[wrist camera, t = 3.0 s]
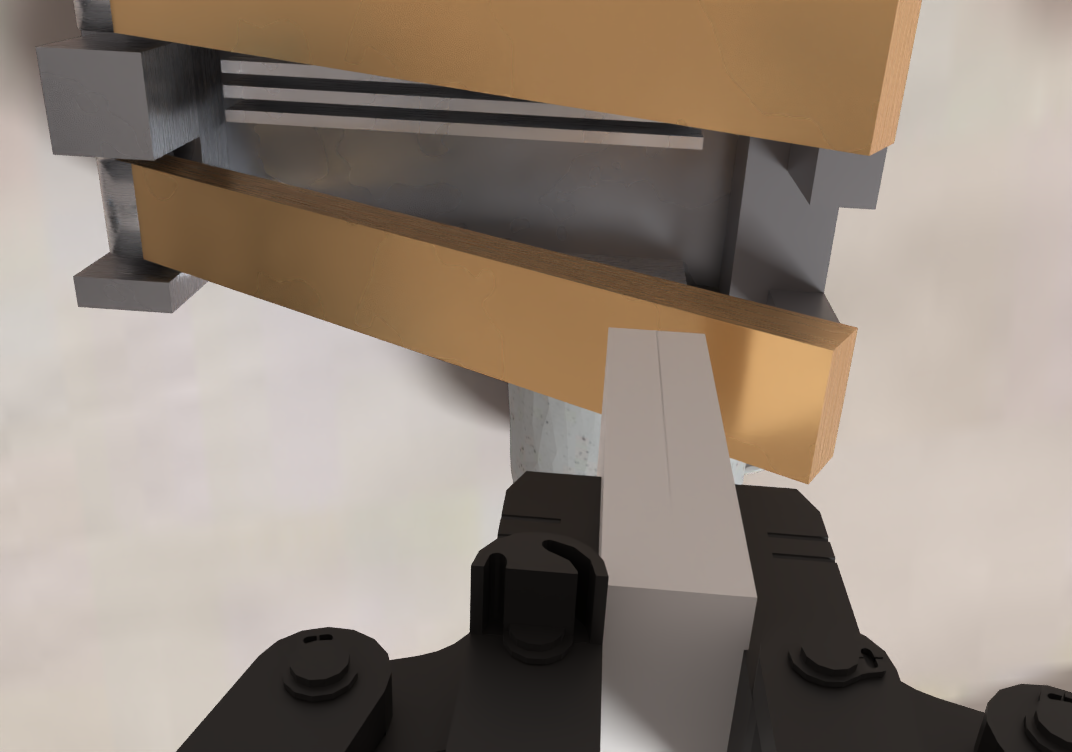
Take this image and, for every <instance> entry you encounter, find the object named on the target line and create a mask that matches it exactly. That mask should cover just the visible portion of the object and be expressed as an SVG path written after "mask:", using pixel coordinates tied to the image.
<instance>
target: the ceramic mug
mask: <svg viewBox="0 0 1072 752" xmlns="http://www.w3.org/2000/svg"><path fill="white" fill-rule="evenodd" d="M689 286H693V287H697V288H701V289H705V290H709V291H713V292H717V293H720V290H719V287H709V286H694V285H689ZM508 391H509V410H510V460H511V473H512V478H513V483H514V482H515V481H516V480H517V479H519V478H520V477H521V476H522V475H523V474H524V473H525V472H526V471H534V472H547V473H560V474H573V475H586V476H597V466H598V453H599V441H600V428H601V416H602V414H599V413H596V412H593V411H590V410H587V409H584V408H581V407H578V406H575V405H572V404H569V403H567V402H564V401H561V400H558V399H555V398H552V397H549V396H546V395H543V394H540V393H537V392H534V391H531V390H528V389H525V388H522V387H519V386H516V385H513V384H511V383H508ZM730 462H731V468H732V473H733V478H734V483H735V484H738V485H742V483H743V478H744V475H748V474H752V473H758V472H761V471H763V470H764V469H761V468H758V467H755V466H752V465H749V464H746V463H743V462H741V461H738V460H735V459H732V458H730Z"/></svg>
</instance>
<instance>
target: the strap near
mask: <svg viewBox="0 0 1072 752" xmlns="http://www.w3.org/2000/svg"><path fill="white" fill-rule="evenodd" d="M73 2H74V9H75V16H76V23H77V28H78V29H80V30H84V31H92V32H111V33H120V34H126V35H132V36H138V37H144V38H150V39H156V40H162V41H169V42H175V43H181V44H187V45H193V46H199V47H205V48H211V49H218V50H224V51H230V52H236V53H242V54H248V55H254V56H260V57H267V58H273V59H279V60H285V61H291V62H297V63H303V64H309V65H316V66H322V67H328V68H334V69H340V70H346V71H352V72H358V73H364V74H371V75H377V76H383V77H389V78H395V79H401V80H407V81H413V82H420V83H426V84H432V85H438V86H444V87H450V88H456V89H462V90H469V91H475V92H481V93H487V94H493V95H499V96H505V97H511V98H518V99H524V100H530V101H536V102H542V103H548V104H554V105H560V106H567V107H573V108H579V109H585V110H591V111H597V112H603V113H609V114H616V115H622V116H628V117H634V118H640V119H646V120H652V121H658V122H664V123H671V124H677V125H683V126H689V127H695V128H701V129H707V130H713V131H720V132H726V133H732V134H738V135H744V136H750V137H756V138H762V139H769V140H775V141H781V142H787V143H793V144H799V145H805V146H811V147H818V148H824V149H830V150H836V151H842V152H848V153H854V154H860V155H867V156H870V155H872V154H874V153H876V152H878V151H880V150H882V149H884V148H886V147H887V146H889V145H891V144H893V143H894V141H895V135H896V130H897V125H898V120H899V115H900V110H901V105H902V100H903V94H904V89H905V84H906V79H907V74H908V69H909V64H910V59H911V54H912V48H913V43H914V38H915V33H916V28H917V23H918V18H919V13H920V8H921V2H922V0H73Z"/></svg>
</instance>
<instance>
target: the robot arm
mask: <svg viewBox="0 0 1072 752" xmlns="http://www.w3.org/2000/svg"><path fill="white" fill-rule="evenodd" d="M176 752H1072V693H1071V692H1068V691H1065V690H1061V689H1058V688H1054V687H1051V686H1047V685H1030V684H1019V685H1016V686H1012V687H1008V688H1005V689H1001V690H999V691H998V692H997V694H996V695H995V696H994V697H993V698H992V699H991V700H990V701H989V702H988V704H987V707H986V710H985V713H984V712H980V711H977V710H974V709H971V708H967V707H964V706H961V705H958V704H955V703H952V702H948V701H945V700H942V699H939V698H936V697H933V696H931V695H928V694H926V693H923V692H921V691H918V690H916V689H914V688H912V687H910V686H908V685H907V684H905V683H903V682H901V681H900V678H899V675H898V672H897V670H896V668H895V666H894V665H893V663H892V662H891V660H890V659H889V657H888V655H887V654H886V652H885V651H884V650H882V649H881V648H880V647H879V646H877V645H876V644H875V643H874V642H872V641H871V640H870V639H869V638H867V637H866V636H864V635H862V634H860V632H859V629H858V626H857V622H856V619H855V616H854V613H853V610H852V607H851V604H850V601H849V598H848V595H847V592H846V589H845V586H844V583H843V580H842V577H841V574H840V571H839V568H838V565H837V563H835V556H834V553H833V550H832V547H831V544H830V542H828V535H827V532H826V529H825V526H824V523H823V520H822V517H821V514H820V512H819V511H818V510H817V509H816V508H815V507H814V506H813V505H812V504H811V503H810V502H809V501H808V500H807V499H806V498H805V497H804V496H803V495H802V494H801V493H800V492H799V491H798V490H797V489H790V488H777V487H764V486H751V485H738V484H735V483H734V478H733V473H732V468H731V462H730V457H729V452H728V447H727V442H726V437H725V432H724V427H723V422H722V417H721V412H720V407H719V402H718V397H717V392H716V387H715V382H714V377H713V372H712V367H711V362H710V357H709V351H708V346H707V341H706V336H705V334H699V333H685V332H670V331H656V330H641V329H627V328H612V327H609V328H608V341H607V353H606V366H605V378H604V391H603V403H602V416H601V428H600V441H599V453H598V466H597V476H586V475H573V474H560V473H547V472H534V471H526V472H525V473H524V474H523V475H522V476H521V477H520V478H519V479H517V480H516V481H515V482H514V483H513V484H512V485H511V486H510V487H509V488H508V489H507V490H506V495H505V500H504V505H503V510H502V517H501V520H500V525H499V530H498V538H497V539H496V540H495V541H493V542H492V543H490V544H489V545H487V546H486V547H484V548H483V549H481V550H480V551H479V553H478V554H477V556H476V558H475V560H474V561H473V563H472V565H471V599H470V632H469V634H467V635H466V636H465V637H463V638H462V639H460V640H459V641H458V642H456V643H455V644H453V645H451V646H448V647H446V648H444V649H441V650H439V651H437V652H432V653H428V654H424V655H420V656H415V657H408V658H401V659H395V660H389V657H388V653H387V652H386V651H385V650H384V649H383V648H382V647H381V646H380V645H379V644H378V643H377V641H376V640H375V639H373V638H371V637H368V636H366V635H364V634H362V633H359V632H357V631H355V630H350V629H341V628H332V627H325V628H318V629H311V630H304V631H300V632H298V633H295V634H293V635H291V636H288V637H286V638H283V639H281V640H278V641H277V642H276V643H274V644H273V645H272V646H271V647H269V648H268V649H267V650H266V651H264V652H263V653H262V654H261V655H260V656H258V658H257V659H256V660H255V661H254V662H253V663H252V665H251V666H250V667H249V668H248V669H247V670H246V671H245V673H244V674H243V675H242V676H241V677H240V678H239V680H238V681H237V682H236V683H235V684H234V685H233V687H232V688H231V689H230V690H229V691H228V692H227V693H226V695H225V696H224V697H223V698H222V699H221V700H220V702H219V703H218V704H217V705H216V706H215V707H214V708H213V710H212V711H211V712H210V713H209V714H208V715H207V717H206V718H205V719H204V720H203V721H202V722H201V723H200V725H199V726H198V727H197V728H196V729H195V730H194V732H193V733H192V734H191V735H190V736H189V737H188V738H187V740H186V741H185V742H184V743H183V744H182V745H181V747H180V748H179V749H178V750H177V751H176Z"/></svg>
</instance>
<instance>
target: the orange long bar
mask: <svg viewBox="0 0 1072 752" xmlns="http://www.w3.org/2000/svg"><path fill="white" fill-rule="evenodd" d="M96 160H97V167H98V174H99V180H100V187H101V194H102V201H103V208H104V215H105V221H106V228H107V235H108V242H109V249H110V253H111V254H113V255H115V256H117V257H121V258H127V259H145V260H148V261H151V262H154V263H157V264H160V265H162V266H165V267H168V268H171V269H174V270H177V271H180V272H183V273H186V274H189V275H192V276H195V277H198V278H201V279H204V280H207V281H210V282H213V283H216V284H219V285H221V286H224V287H227V288H230V289H233V290H236V291H239V292H242V293H245V294H248V295H251V296H254V297H257V298H260V299H263V300H266V301H269V302H272V303H275V304H278V305H280V306H283V307H286V308H289V309H292V310H295V311H298V312H301V313H304V314H307V315H310V316H313V317H316V318H319V319H322V320H325V321H328V322H331V323H334V324H337V325H339V326H342V327H345V328H348V329H351V330H354V331H357V332H360V333H363V334H366V335H369V336H372V337H375V338H378V339H381V340H384V341H387V342H390V343H393V344H395V345H398V346H401V347H404V348H407V349H410V350H413V351H416V352H419V353H422V354H425V355H428V356H431V357H434V358H437V359H440V360H443V361H446V362H449V363H452V364H454V365H457V366H460V367H463V368H466V369H469V370H472V371H475V372H478V373H481V374H484V375H487V376H490V377H493V378H496V379H499V380H502V381H505V382H508V383H511V384H513V385H516V386H519V387H522V388H525V389H528V390H531V391H534V392H537V393H540V394H543V395H546V396H549V397H552V398H555V399H558V400H561V401H564V402H567V403H569V404H572V405H575V406H578V407H581V408H584V409H587V410H590V411H593V412H596V413H599V414H602V403H603V391H604V378H605V366H606V353H607V341H608V328H609V327H612V328H627V329H641V330H656V331H670V332H685V333H699V334H705V336H706V341H707V346H708V351H709V357H710V362H711V367H712V372H713V377H714V382H715V387H716V392H717V397H718V402H719V407H720V412H721V417H722V422H723V427H724V432H725V437H726V442H727V447H728V452H729V457H730V458H732V459H735V460H738V461H741V462H743V463H746V464H749V465H752V466H755V467H758V468H761V469H764V470H767V471H770V472H773V473H776V474H779V475H782V476H785V477H788V478H791V479H794V480H797V481H800V482H802V483H805V484H809V483H810V482H811V481H812V480H813V478H814V477H815V476H816V475H817V474H818V473H819V471H820V470H821V469H822V468H823V467H824V466H825V464H826V463H827V462H828V461H829V460H830V459H831V458H832V456H833V453H834V448H835V442H836V437H837V432H838V427H839V422H840V417H841V412H842V407H843V402H844V396H845V391H846V386H847V381H848V376H849V371H850V366H851V361H852V355H853V350H854V345H855V340H856V335H857V330H858V328H857V327H853V326H849V325H845V324H841V323H837V322H833V321H829V320H825V319H821V318H817V317H813V316H809V315H805V314H801V313H797V312H793V311H789V310H785V309H781V308H777V307H773V306H769V305H765V304H761V303H757V302H753V301H749V300H745V299H741V298H737V297H733V296H729V295H725V294H721V293H717V292H713V291H709V290H705V289H701V288H697V287H693V286H689V285H685V284H682V283H678V282H674V281H670V280H666V279H662V278H658V277H654V276H650V275H646V274H642V273H638V272H634V271H630V270H626V269H622V268H618V267H614V266H610V265H606V264H602V263H598V262H594V261H590V260H586V259H582V258H578V257H574V256H570V255H566V254H562V253H558V252H554V251H550V250H546V249H542V248H538V247H534V246H530V245H526V244H522V243H518V242H514V241H510V240H506V239H502V238H498V237H494V236H490V235H487V234H483V233H479V232H475V231H471V230H467V229H463V228H459V227H455V226H451V225H447V224H443V223H439V222H435V221H431V220H427V219H423V218H419V217H415V216H411V215H407V214H403V213H399V212H395V211H391V210H387V209H383V208H379V207H375V206H371V205H367V204H363V203H359V202H355V201H351V200H347V199H343V198H339V197H335V196H331V195H327V194H323V193H319V192H315V191H311V190H307V189H303V188H299V187H295V186H291V185H288V184H284V183H280V182H276V181H272V180H268V179H264V178H260V177H256V176H252V175H248V174H244V173H240V172H236V171H232V170H228V169H224V168H220V167H216V166H212V165H208V164H204V163H200V162H196V161H192V160H188V159H184V158H180V157H176V156H174V153H173V152H169V153H167V154H165V155H163V156H162V157H160V158H158V159H156V160H154V161H152V160H135V159H119V158H103V157H96Z"/></svg>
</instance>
